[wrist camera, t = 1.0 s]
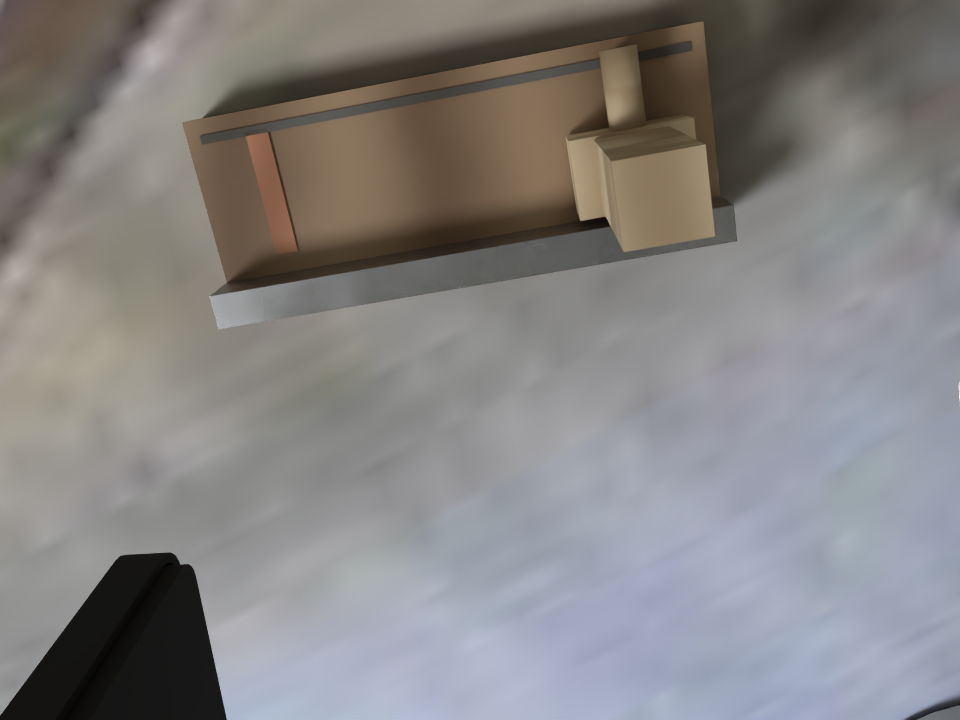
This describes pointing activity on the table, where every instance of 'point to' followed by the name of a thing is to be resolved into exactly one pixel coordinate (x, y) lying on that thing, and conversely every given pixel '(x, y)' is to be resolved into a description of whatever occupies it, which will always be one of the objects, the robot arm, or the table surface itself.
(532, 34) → the table surface
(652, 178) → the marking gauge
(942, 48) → the table surface
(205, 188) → the wooden slotted block
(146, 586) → the robot arm
